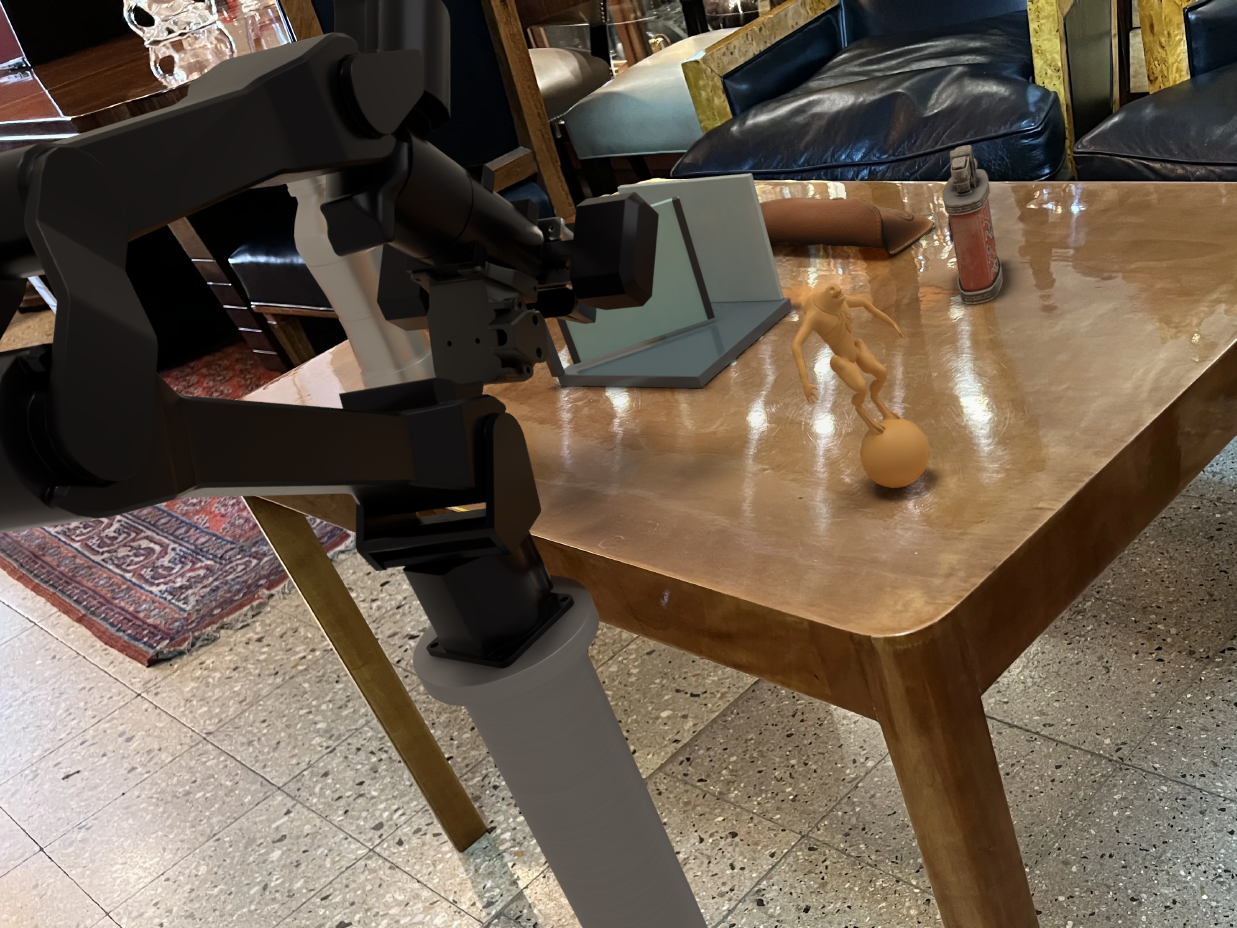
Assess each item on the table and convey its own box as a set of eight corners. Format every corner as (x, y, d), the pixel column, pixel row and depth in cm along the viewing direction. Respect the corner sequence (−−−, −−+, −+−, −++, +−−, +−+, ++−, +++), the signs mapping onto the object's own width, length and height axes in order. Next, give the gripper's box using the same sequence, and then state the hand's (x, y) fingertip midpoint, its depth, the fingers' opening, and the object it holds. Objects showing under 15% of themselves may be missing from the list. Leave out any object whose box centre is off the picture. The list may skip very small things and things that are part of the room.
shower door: (715, 317, 95) (679, 197, 89) (574, 364, 93) (528, 245, 88) (713, 315, 96) (677, 195, 90) (572, 361, 94) (528, 243, 89)
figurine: (883, 525, 66) (835, 321, 59) (805, 506, 69) (751, 313, 63) (969, 453, 70) (933, 256, 63) (891, 439, 74) (849, 252, 67)
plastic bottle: (365, 433, 95) (239, 182, 84) (417, 394, 100) (305, 152, 89) (426, 432, 93) (303, 172, 81) (476, 391, 97) (368, 141, 86)
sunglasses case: (941, 217, 105) (907, 165, 100) (911, 283, 104) (874, 234, 99) (790, 216, 116) (752, 169, 111) (761, 276, 115) (721, 231, 109)
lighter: (962, 268, 95) (940, 140, 90) (1004, 260, 95) (985, 131, 89) (956, 306, 89) (932, 172, 83) (1001, 299, 88) (980, 162, 83)
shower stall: (697, 391, 87) (651, 245, 81) (556, 388, 94) (503, 253, 88) (793, 308, 97) (758, 171, 90) (658, 311, 104) (617, 184, 97)
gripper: (287, 362, 68) (467, 439, 82) (559, 335, 61) (705, 425, 75) (309, 178, 69) (483, 286, 84) (579, 131, 62) (718, 258, 77)
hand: (591, 316), depth 80 cm, fingers closed
